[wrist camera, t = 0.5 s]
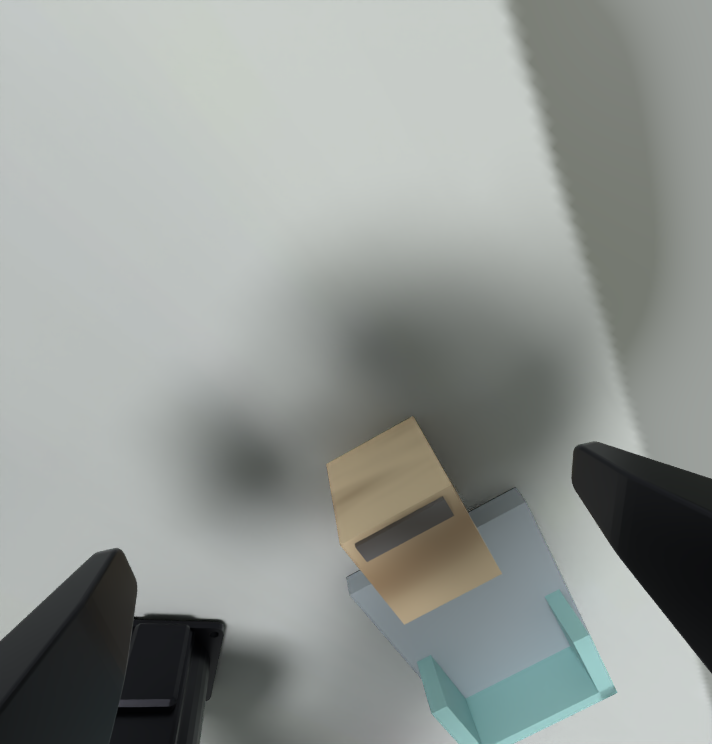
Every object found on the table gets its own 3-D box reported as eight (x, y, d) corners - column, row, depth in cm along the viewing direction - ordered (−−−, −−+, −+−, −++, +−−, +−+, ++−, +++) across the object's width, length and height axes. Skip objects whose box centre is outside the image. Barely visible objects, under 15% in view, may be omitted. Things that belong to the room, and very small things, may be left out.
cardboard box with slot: (457, 493, 25) (504, 577, 20) (379, 535, 25) (405, 628, 20) (412, 415, 22) (453, 488, 17) (326, 463, 23) (340, 548, 18)
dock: (583, 627, 32) (624, 689, 28) (446, 696, 33) (468, 765, 29) (515, 487, 25) (557, 543, 22) (346, 577, 26) (358, 646, 22)
